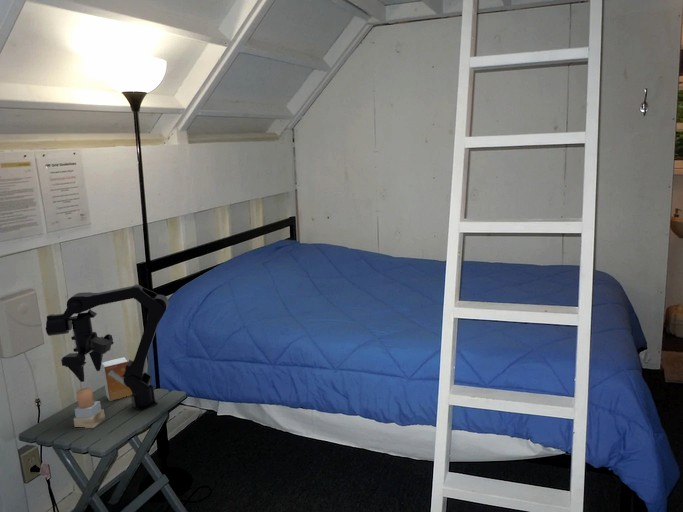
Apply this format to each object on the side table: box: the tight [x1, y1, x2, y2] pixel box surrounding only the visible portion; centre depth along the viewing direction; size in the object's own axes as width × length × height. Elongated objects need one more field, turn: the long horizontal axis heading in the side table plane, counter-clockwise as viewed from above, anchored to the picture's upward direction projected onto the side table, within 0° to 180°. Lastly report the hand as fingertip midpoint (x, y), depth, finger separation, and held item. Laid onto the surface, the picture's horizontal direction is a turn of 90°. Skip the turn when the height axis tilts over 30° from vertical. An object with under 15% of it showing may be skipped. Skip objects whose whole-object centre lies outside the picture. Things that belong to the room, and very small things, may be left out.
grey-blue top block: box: [74, 400, 102, 418], centre depth 177 cm, size 6×6×3 cm
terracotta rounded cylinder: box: [76, 387, 95, 408], centre depth 177 cm, size 4×4×5 cm
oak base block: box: [73, 408, 106, 429], centre depth 178 cm, size 6×6×4 cm
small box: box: [101, 356, 132, 402], centre depth 198 cm, size 8×6×13 cm
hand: (90, 376), depth 184 cm, fingers open, 9 cm apart
